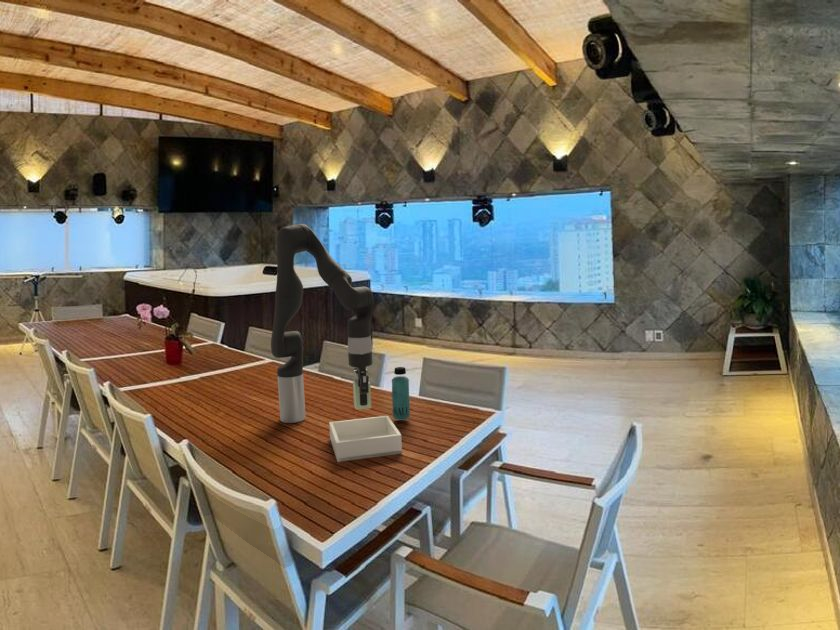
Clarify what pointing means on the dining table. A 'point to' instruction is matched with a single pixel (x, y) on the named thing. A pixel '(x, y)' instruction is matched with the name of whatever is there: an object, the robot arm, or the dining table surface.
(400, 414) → the beverage bottle
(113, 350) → the dining table surface
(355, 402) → the green block
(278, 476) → the dining table surface
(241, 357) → the dining table surface
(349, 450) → the serving bin
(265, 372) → the dining table surface
